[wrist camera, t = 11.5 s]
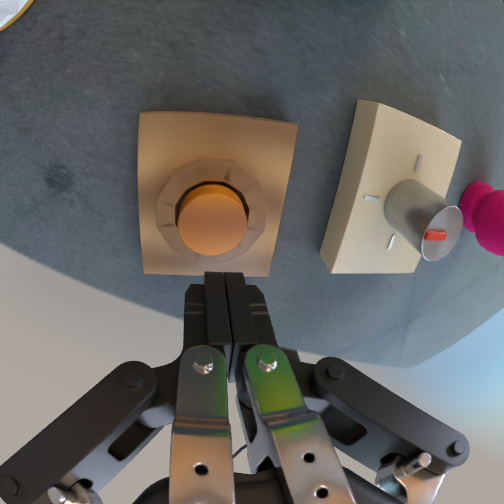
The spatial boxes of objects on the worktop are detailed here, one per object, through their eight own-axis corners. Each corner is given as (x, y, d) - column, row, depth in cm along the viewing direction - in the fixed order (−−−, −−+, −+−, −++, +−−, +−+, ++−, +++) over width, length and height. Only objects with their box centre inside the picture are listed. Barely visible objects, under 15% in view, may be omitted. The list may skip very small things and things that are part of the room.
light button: (239, 242, 18) (243, 257, 17) (179, 240, 18) (177, 255, 16) (247, 185, 16) (252, 196, 15) (180, 181, 15) (178, 192, 14)
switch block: (263, 261, 24) (273, 291, 21) (147, 258, 22) (139, 289, 19) (289, 121, 18) (308, 129, 14) (146, 110, 16) (131, 116, 12)
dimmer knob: (429, 182, 19) (473, 210, 14) (415, 228, 21) (452, 262, 17) (391, 175, 18) (437, 205, 13) (377, 227, 20) (415, 265, 16)
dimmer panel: (398, 256, 27) (414, 274, 24) (318, 253, 25) (331, 275, 22) (440, 132, 19) (463, 141, 17) (357, 99, 17) (380, 102, 15)
